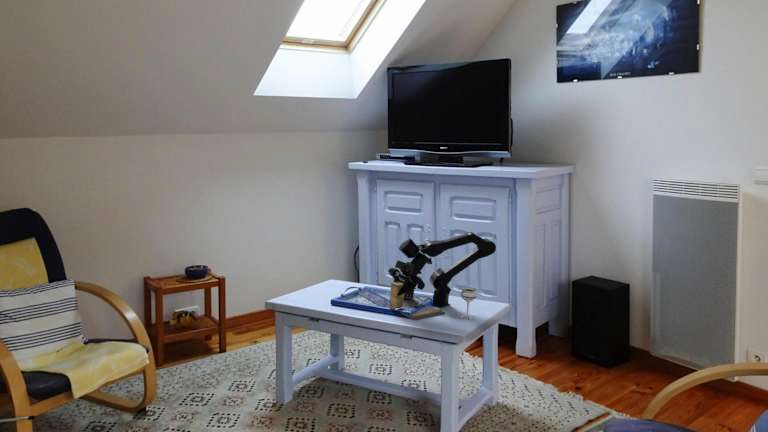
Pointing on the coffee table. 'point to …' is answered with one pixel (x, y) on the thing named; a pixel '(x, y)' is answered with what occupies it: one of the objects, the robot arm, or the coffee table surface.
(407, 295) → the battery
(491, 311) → the coffee table surface
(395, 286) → the sleeve
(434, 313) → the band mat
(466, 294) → the wineglass
